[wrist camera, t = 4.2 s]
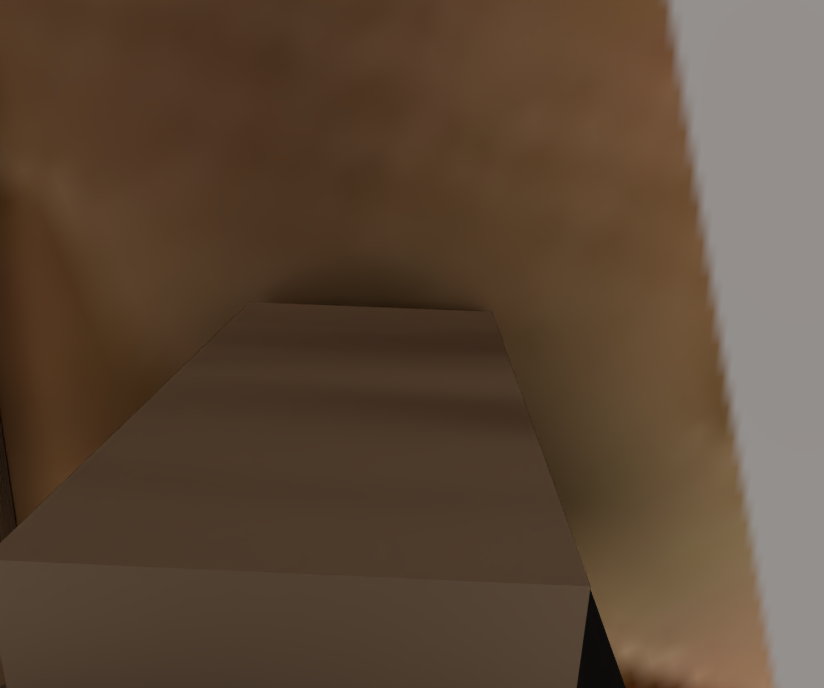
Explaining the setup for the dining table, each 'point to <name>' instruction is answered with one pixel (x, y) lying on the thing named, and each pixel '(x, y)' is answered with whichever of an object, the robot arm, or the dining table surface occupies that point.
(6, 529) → the vise base
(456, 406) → the walnut block
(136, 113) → the dining table surface
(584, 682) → the robot arm
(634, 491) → the dining table surface
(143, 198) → the dining table surface
